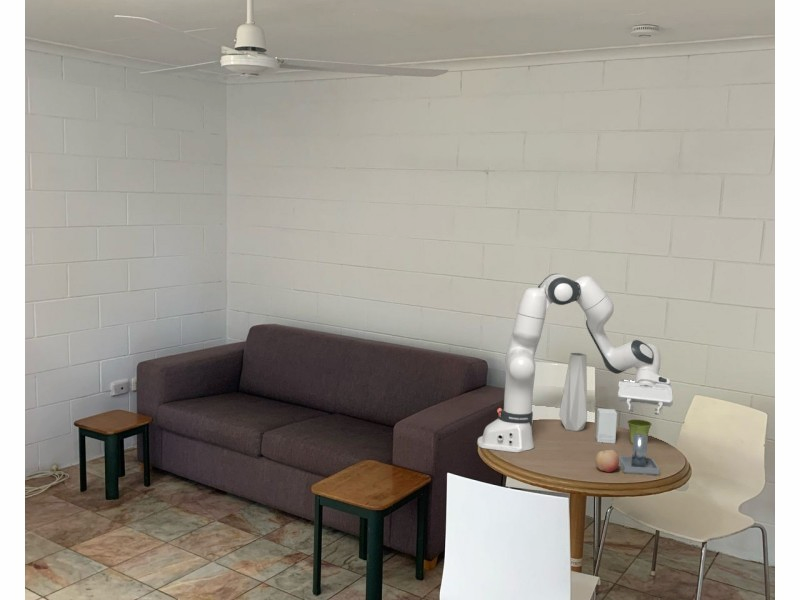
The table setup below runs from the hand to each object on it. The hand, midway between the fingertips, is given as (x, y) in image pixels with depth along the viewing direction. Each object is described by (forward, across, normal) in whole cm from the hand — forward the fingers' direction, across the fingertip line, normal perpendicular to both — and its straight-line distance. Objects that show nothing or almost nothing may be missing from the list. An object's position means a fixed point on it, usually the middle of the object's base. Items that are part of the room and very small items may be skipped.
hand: (643, 412), depth 287 cm
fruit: (+27, -10, 0) cm, 29 cm away
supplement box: (0, -15, +27) cm, 31 cm away
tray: (+21, 0, +5) cm, 22 cm away
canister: (+21, 0, +4) cm, 21 cm away
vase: (-8, -29, +35) cm, 46 cm away
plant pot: (-2, -2, +28) cm, 29 cm away
